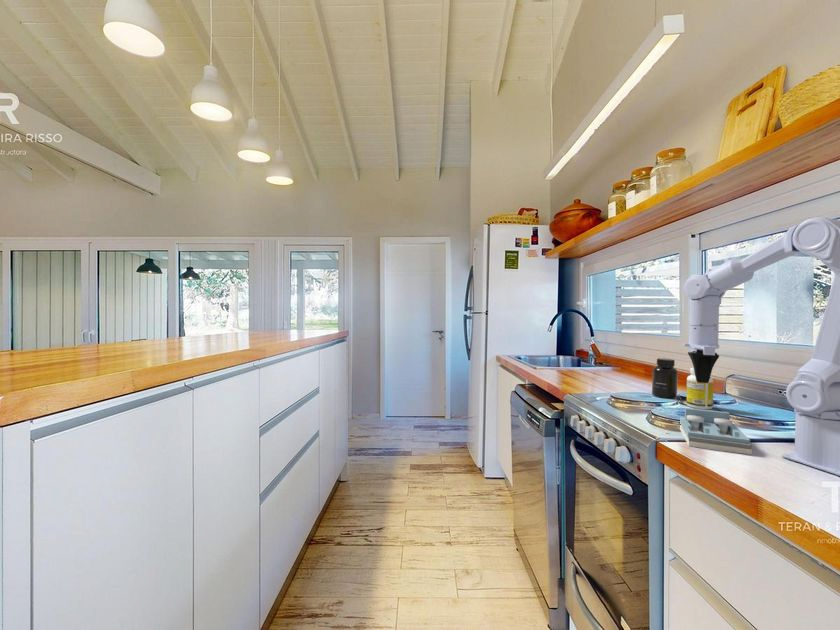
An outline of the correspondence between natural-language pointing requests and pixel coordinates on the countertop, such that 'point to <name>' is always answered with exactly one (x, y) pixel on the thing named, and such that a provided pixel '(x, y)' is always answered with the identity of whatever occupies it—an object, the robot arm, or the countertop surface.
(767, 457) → the countertop surface
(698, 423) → the boss board
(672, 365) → the supplement bottle
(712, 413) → the panel
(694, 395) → the pill bottle
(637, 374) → the countertop surface
